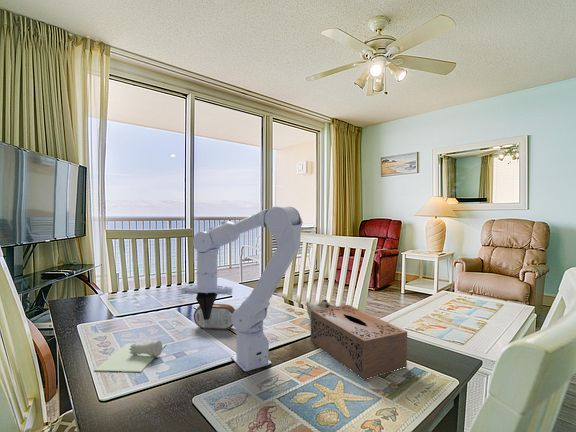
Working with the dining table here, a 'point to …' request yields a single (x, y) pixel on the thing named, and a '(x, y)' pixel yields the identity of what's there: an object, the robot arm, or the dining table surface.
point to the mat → (126, 361)
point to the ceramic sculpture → (318, 306)
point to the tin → (215, 317)
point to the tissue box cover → (359, 340)
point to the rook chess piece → (147, 348)
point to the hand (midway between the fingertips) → (207, 318)
